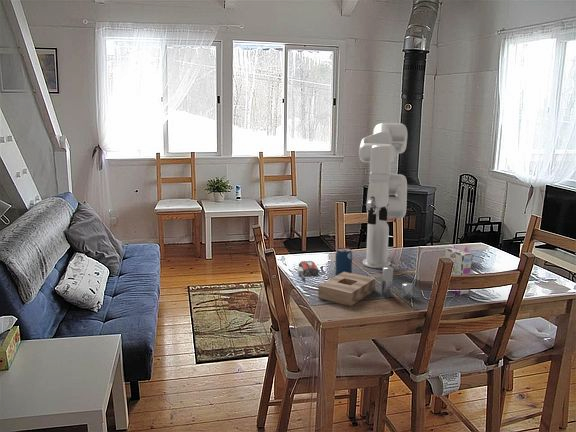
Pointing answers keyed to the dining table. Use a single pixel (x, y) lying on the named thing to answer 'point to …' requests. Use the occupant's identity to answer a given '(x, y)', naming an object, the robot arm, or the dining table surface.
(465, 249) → the lily
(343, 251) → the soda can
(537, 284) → the dining table surface
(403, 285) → the short pin
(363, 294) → the hole block
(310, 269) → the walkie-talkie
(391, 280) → the tall pin
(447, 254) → the candy bar box
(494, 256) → the dining table surface
